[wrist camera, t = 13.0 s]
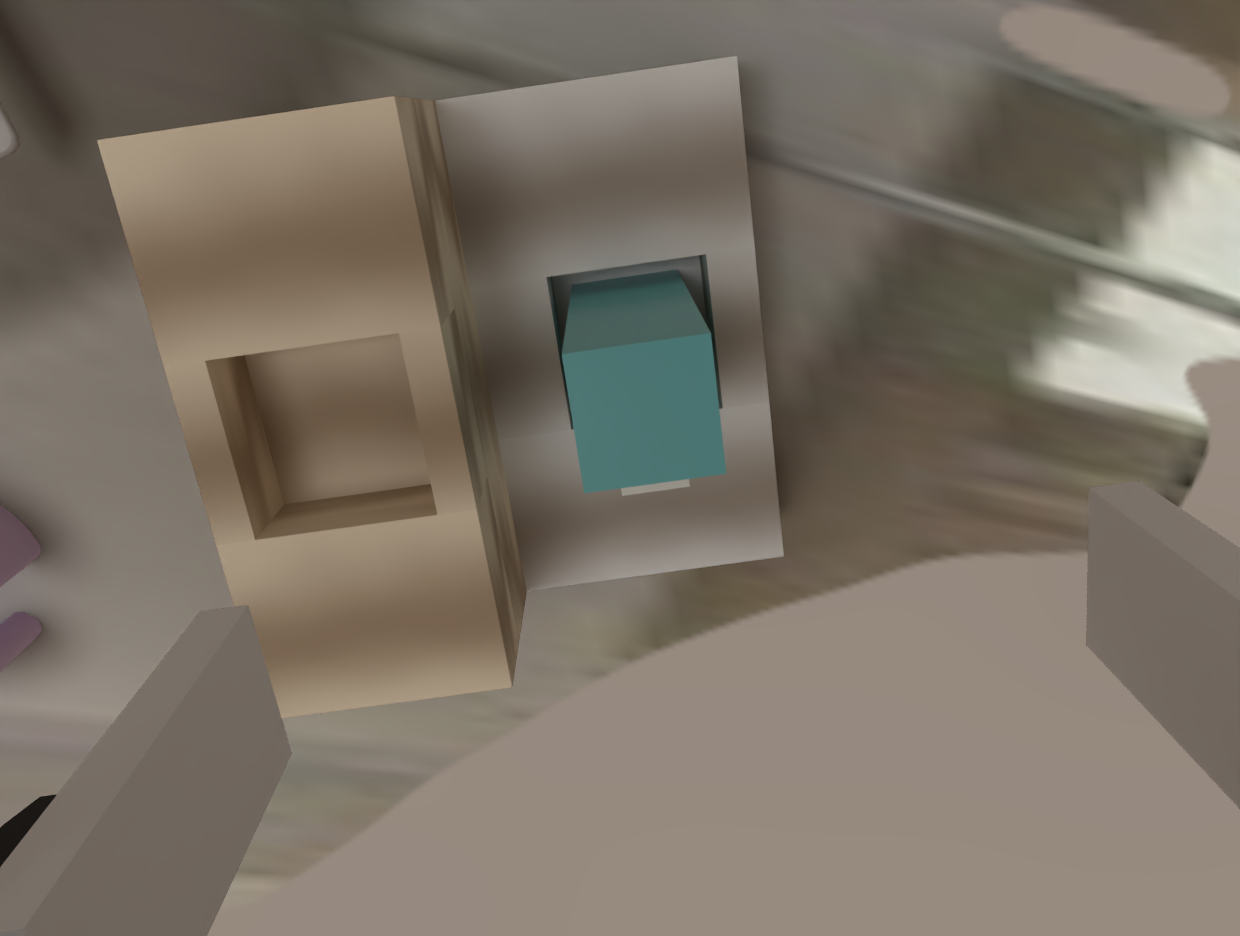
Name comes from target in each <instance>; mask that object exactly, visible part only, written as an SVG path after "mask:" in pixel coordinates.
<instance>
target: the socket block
mask: <svg viewBox="0 0 1240 936" xmlns="http://www.w3.org/2000/svg"><path fill="white" fill-rule="evenodd" d="M97 142H98V146H99V149H100V152H101V156H102V159H103V162H104V166H105V169H106V173H107V176H108V179H109V183H110V186H111V190H112V193H113V196H114V200H115V203H116V207H117V210H118V213H119V217H120V220H121V224H122V227H123V230H124V234H125V237H126V241H127V244H128V247H129V251H130V254H131V258H132V261H133V264H134V268H135V271H136V274H137V278H138V281H139V285H140V288H141V291H142V295H143V298H144V302H145V305H146V308H147V312H148V315H149V319H150V322H151V325H152V329H153V332H154V336H155V339H156V342H157V346H158V349H159V353H160V356H161V359H162V363H163V366H164V370H165V373H166V376H167V380H168V383H169V386H170V390H171V393H172V397H173V400H174V403H175V407H176V410H177V414H178V417H179V420H180V424H181V427H182V431H183V434H184V437H185V441H186V444H187V448H188V451H189V454H190V458H191V461H192V465H193V468H194V471H195V475H196V478H197V482H198V485H199V488H200V492H201V495H202V498H203V502H204V505H205V509H206V512H207V515H208V519H209V522H210V526H211V529H212V532H213V536H214V539H215V543H216V546H217V549H218V553H219V556H220V560H221V563H222V566H223V570H224V573H225V577H226V580H227V583H228V587H229V590H230V594H231V597H232V600H233V604H234V607H236V606H243V605H249V608H250V612H251V615H252V619H253V622H254V625H255V629H256V632H257V636H258V639H259V642H260V646H261V649H262V653H263V656H264V660H265V663H266V666H267V670H268V673H269V677H270V680H271V684H272V687H273V690H274V694H275V697H276V701H277V704H278V708H279V711H280V714H281V718H287V717H295V716H302V715H310V714H317V713H325V712H332V711H340V710H347V709H355V708H362V707H370V706H377V705H385V704H392V703H400V702H407V701H415V700H422V699H430V698H437V697H445V696H452V695H460V694H467V693H475V692H482V691H490V690H497V689H505V688H512V686H513V679H514V673H515V666H516V659H517V652H518V646H519V639H520V632H521V626H522V619H523V612H524V605H525V599H526V592H527V591H532V590H539V589H547V588H554V587H561V586H569V585H576V584H583V583H591V582H598V581H605V580H613V579H620V578H628V577H635V576H642V575H650V574H657V573H664V572H672V571H679V570H686V569H694V568H701V567H709V566H716V565H723V564H731V563H738V562H745V561H753V560H760V559H767V558H775V557H782V556H784V554H783V543H782V533H781V522H780V511H779V500H778V490H777V479H776V468H775V458H774V447H773V436H772V426H771V415H770V404H769V394H768V383H767V372H766V362H765V351H764V340H763V330H762V319H761V308H760V297H759V287H758V276H757V265H756V255H755V244H754V233H753V223H752V212H751V201H750V191H749V180H748V169H747V159H746V148H745V137H744V127H743V116H742V105H741V94H740V84H739V73H738V62H737V56H732V57H726V58H719V59H712V60H705V61H699V62H692V63H685V64H678V65H672V66H665V67H658V68H651V69H645V70H638V71H631V72H625V73H618V74H611V75H604V76H598V77H591V78H584V79H577V80H571V81H564V82H557V83H550V84H544V85H537V86H530V87H523V88H517V89H510V90H503V91H496V92H490V93H483V94H476V95H469V96H463V97H456V98H449V99H443V100H436V101H433V100H424V99H416V98H407V97H398V96H391V97H384V98H378V99H371V100H364V101H357V102H351V103H344V104H337V105H330V106H324V107H317V108H310V109H304V110H297V111H290V112H283V113H277V114H270V115H263V116H256V117H250V118H243V119H236V120H230V121H223V122H216V123H209V124H203V125H196V126H189V127H182V128H176V129H169V130H162V131H156V132H149V133H142V134H135V135H129V136H122V137H115V138H108V139H102V140H97ZM676 269H677V270H678V272H679V274H680V276H681V278H682V280H683V282H684V284H685V285H686V287H687V289H688V291H689V293H690V295H691V297H692V299H693V300H694V302H695V304H696V306H697V308H698V310H699V312H700V314H701V315H702V317H703V319H704V321H705V323H706V325H707V327H708V329H709V330H710V332H711V339H712V348H713V357H714V366H715V375H716V384H717V393H718V402H719V411H720V420H721V429H722V438H723V447H724V456H725V465H726V474H721V475H714V476H707V477H699V478H692V479H689V485H690V487H683V488H676V489H669V490H662V491H654V492H647V493H640V494H633V495H625V496H622V493H621V488H620V489H612V490H605V491H598V492H591V493H584V489H583V483H582V477H581V471H580V465H579V458H578V452H577V446H576V440H575V434H574V427H573V421H572V415H571V409H570V403H569V396H568V390H567V384H566V378H565V372H564V365H563V359H562V349H563V342H564V335H565V329H566V322H567V315H568V309H569V302H570V295H571V289H572V284H579V283H586V282H593V281H600V280H607V279H613V278H620V277H627V276H634V275H641V274H648V273H655V272H662V271H669V270H676Z"/></svg>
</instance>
